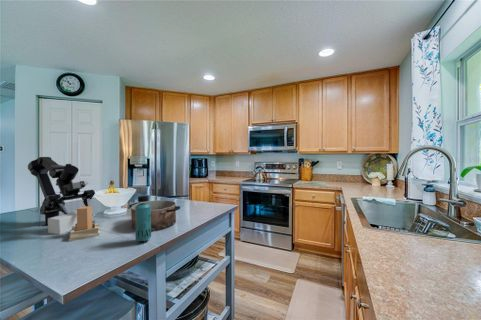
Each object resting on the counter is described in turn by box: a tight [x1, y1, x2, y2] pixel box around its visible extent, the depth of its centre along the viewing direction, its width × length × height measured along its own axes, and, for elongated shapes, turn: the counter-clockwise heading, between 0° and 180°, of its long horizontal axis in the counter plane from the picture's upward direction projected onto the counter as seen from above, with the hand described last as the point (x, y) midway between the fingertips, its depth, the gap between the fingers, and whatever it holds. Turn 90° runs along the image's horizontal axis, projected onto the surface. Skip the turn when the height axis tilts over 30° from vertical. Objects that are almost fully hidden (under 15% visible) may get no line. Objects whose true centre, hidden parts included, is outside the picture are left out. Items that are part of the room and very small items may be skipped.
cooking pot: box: [128, 199, 181, 232], centre depth 109 cm, size 30×22×11 cm
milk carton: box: [47, 210, 95, 235], centre depth 105 cm, size 7×7×19 cm
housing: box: [68, 220, 100, 242], centre depth 96 cm, size 14×11×4 cm
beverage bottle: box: [134, 195, 153, 242], centre depth 88 cm, size 6×7×20 cm
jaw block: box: [76, 205, 93, 231], centre depth 95 cm, size 4×4×12 cm
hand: (78, 211), depth 97 cm, fingers open, 9 cm apart
